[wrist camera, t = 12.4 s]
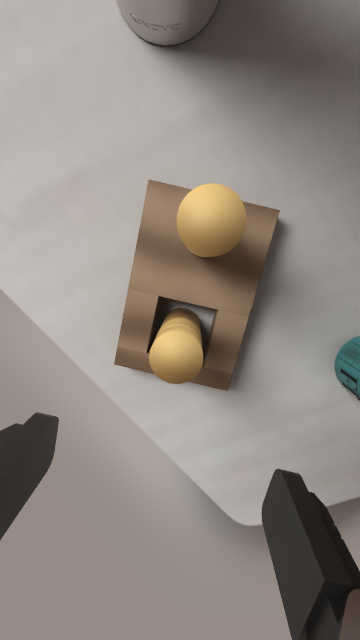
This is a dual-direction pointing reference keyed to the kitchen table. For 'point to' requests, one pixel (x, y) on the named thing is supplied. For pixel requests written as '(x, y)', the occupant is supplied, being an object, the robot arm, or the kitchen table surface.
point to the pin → (177, 347)
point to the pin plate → (196, 270)
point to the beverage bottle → (349, 366)
